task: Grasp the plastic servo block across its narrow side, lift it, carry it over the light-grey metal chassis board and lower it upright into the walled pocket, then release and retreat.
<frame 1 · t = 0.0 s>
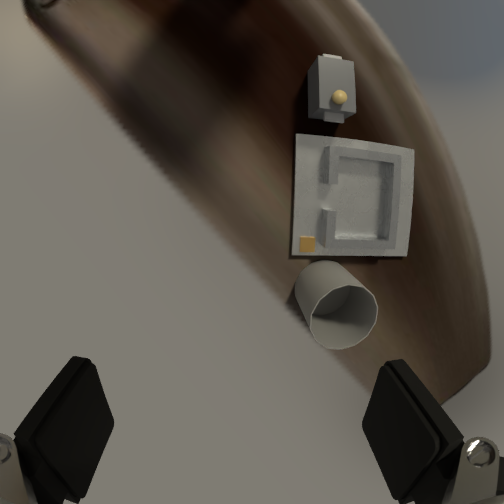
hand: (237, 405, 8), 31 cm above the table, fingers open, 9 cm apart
servo: (323, 96, 34), on the table
cup: (322, 287, 41), on the table
chassis board: (356, 197, 38), on the table
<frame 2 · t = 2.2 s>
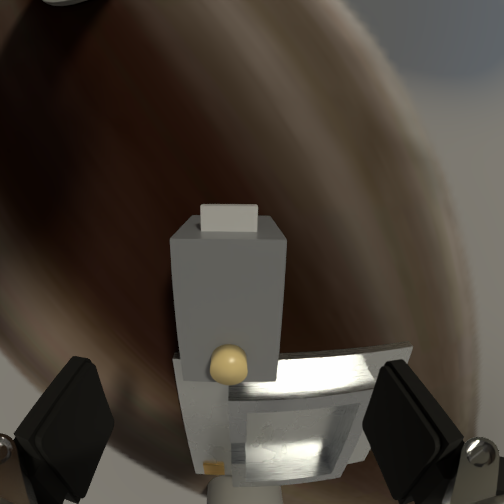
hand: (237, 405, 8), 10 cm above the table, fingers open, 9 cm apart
servo: (230, 272, 18), on the table
cup: (244, 486, 25), on the table
chassis board: (291, 423, 22), on the table
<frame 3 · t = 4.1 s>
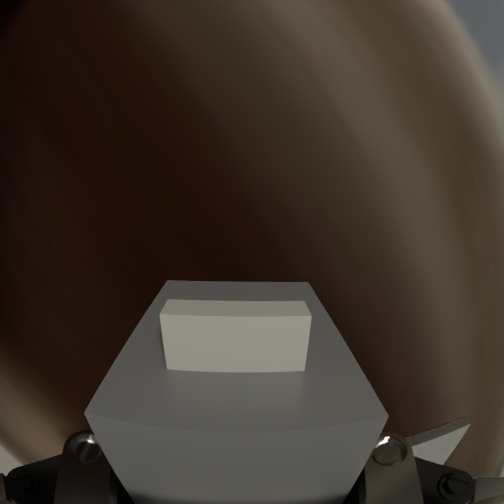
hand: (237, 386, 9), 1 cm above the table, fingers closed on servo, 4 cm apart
servo: (237, 370, 10), on the table, touching gripper
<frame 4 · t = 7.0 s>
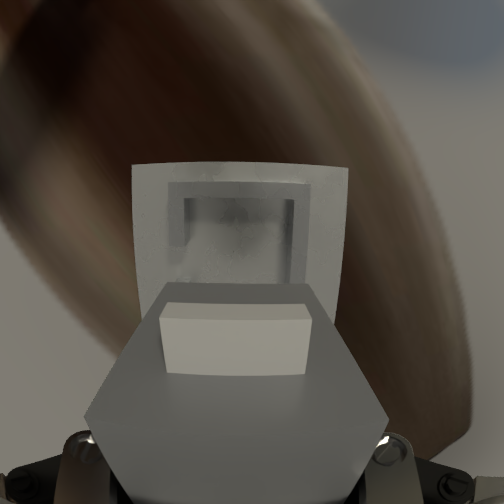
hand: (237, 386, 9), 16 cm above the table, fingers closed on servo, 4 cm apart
servo: (237, 372, 10), point 16 cm above the table, touching gripper
chassis board: (238, 257, 25), on the table
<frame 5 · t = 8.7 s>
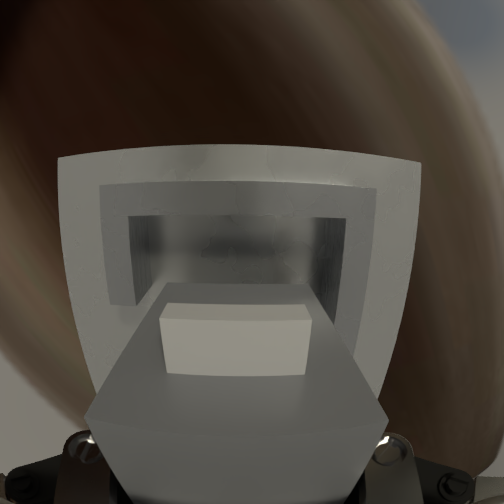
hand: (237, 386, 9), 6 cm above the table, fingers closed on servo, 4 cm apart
servo: (237, 372, 10), point 5 cm above the table, touching gripper
chassis board: (236, 311, 15), on the table
when the fingers open (4 cm above the table, at t = 10.2 s): servo drops 2 cm, resting on chassis board.
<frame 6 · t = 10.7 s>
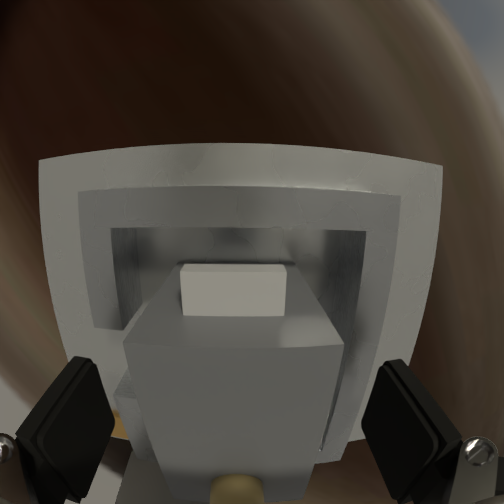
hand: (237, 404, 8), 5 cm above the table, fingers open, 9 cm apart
servo: (236, 340, 12), point 1 cm above the table, touching chassis board
cup: (184, 473, 16), on the table
chassis board: (237, 332, 13), on the table
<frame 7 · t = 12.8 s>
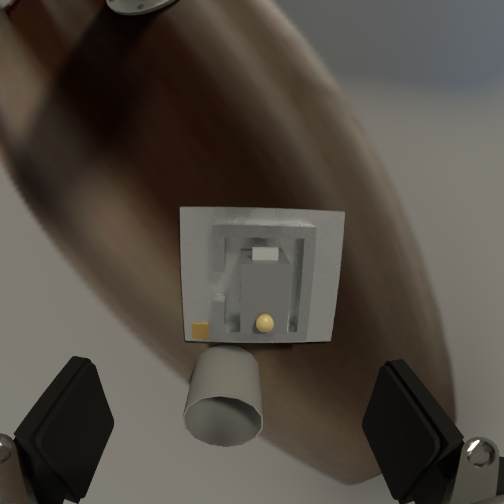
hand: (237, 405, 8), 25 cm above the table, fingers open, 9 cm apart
servo: (261, 280, 32), point 1 cm above the table, touching chassis board
cup: (226, 369, 36), on the table
chassis board: (261, 278, 33), on the table
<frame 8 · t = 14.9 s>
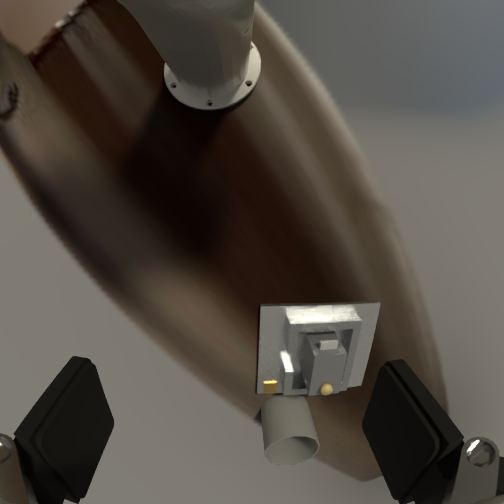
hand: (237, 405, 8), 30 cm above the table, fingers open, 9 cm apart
servo: (317, 352, 42), point 1 cm above the table, touching chassis board
cup: (284, 408, 46), on the table
chassis board: (316, 349, 42), on the table
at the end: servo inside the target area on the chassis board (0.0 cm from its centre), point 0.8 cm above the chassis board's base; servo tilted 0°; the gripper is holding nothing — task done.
